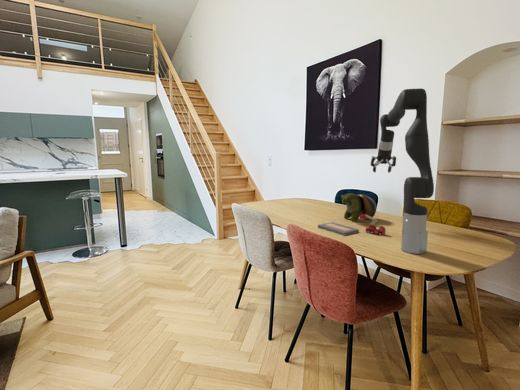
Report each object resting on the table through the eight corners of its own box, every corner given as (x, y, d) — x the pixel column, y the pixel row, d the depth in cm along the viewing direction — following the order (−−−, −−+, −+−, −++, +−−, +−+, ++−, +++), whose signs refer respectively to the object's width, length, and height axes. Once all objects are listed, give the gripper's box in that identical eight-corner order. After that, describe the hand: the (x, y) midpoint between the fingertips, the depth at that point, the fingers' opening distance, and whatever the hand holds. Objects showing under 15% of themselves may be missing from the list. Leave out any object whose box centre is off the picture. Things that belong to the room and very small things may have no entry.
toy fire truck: (383, 235, 150) (384, 218, 149) (358, 231, 159) (359, 214, 158) (386, 234, 152) (387, 217, 151) (361, 230, 162) (362, 213, 160)
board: (358, 232, 158) (358, 229, 157) (343, 235, 151) (343, 232, 151) (332, 224, 174) (332, 222, 174) (317, 227, 168) (317, 224, 168)
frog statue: (374, 228, 183) (343, 220, 174) (359, 221, 197) (330, 214, 189) (384, 200, 181) (353, 191, 172) (368, 196, 195) (339, 187, 187)
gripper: (374, 150, 168) (371, 174, 176) (399, 149, 166) (395, 174, 174) (371, 145, 175) (368, 169, 183) (396, 145, 173) (391, 169, 180)
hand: (381, 172), depth 178 cm, fingers open, 8 cm apart
